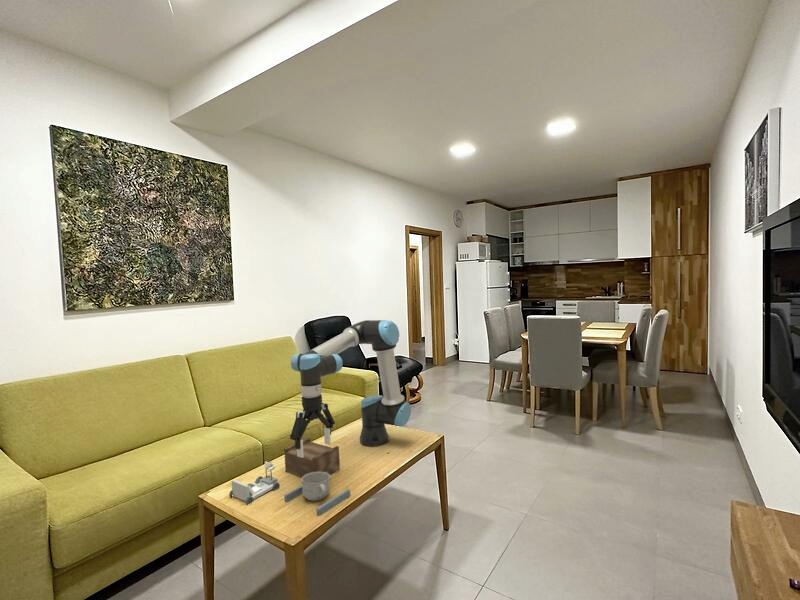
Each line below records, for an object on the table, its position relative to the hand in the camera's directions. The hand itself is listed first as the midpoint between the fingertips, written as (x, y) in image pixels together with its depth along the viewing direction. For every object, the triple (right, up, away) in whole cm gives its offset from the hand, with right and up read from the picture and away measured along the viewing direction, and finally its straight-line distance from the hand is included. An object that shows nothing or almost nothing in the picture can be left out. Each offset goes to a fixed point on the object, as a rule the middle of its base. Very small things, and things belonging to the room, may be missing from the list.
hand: (314, 450), depth 153 cm
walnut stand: (-6, -18, +25) cm, 31 cm away
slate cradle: (+1, -19, +1) cm, 19 cm away
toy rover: (-25, -21, +9) cm, 33 cm away
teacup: (+1, -19, +1) cm, 19 cm away
